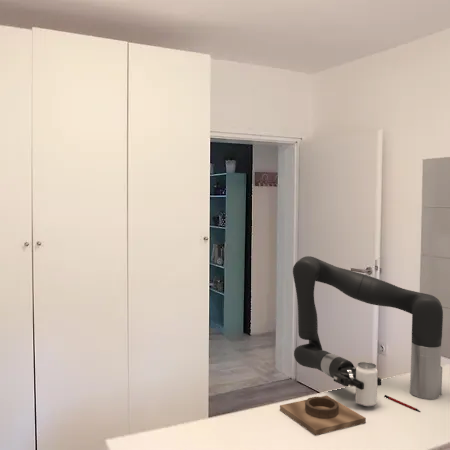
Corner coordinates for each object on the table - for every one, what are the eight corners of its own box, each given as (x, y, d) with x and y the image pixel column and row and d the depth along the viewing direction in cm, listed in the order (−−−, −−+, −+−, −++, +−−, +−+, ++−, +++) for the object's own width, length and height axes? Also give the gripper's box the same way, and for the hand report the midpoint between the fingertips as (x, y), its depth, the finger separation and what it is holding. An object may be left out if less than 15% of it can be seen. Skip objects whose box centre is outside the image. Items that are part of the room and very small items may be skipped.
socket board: (326, 399, 161) (327, 387, 160) (365, 422, 144) (365, 409, 144) (279, 410, 153) (280, 397, 152) (315, 435, 136) (315, 421, 136)
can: (374, 398, 159) (375, 361, 158) (378, 407, 152) (379, 368, 152) (353, 397, 159) (354, 361, 159) (357, 406, 153) (358, 368, 152)
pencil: (420, 414, 152) (420, 410, 152) (384, 398, 164) (384, 395, 163) (422, 413, 152) (422, 410, 152) (386, 397, 164) (386, 394, 164)
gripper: (320, 359, 165) (354, 376, 150) (353, 353, 171) (389, 369, 156) (319, 381, 165) (353, 400, 150) (353, 375, 172) (389, 392, 157)
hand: (371, 384), depth 153 cm, fingers closed on can, 6 cm apart
